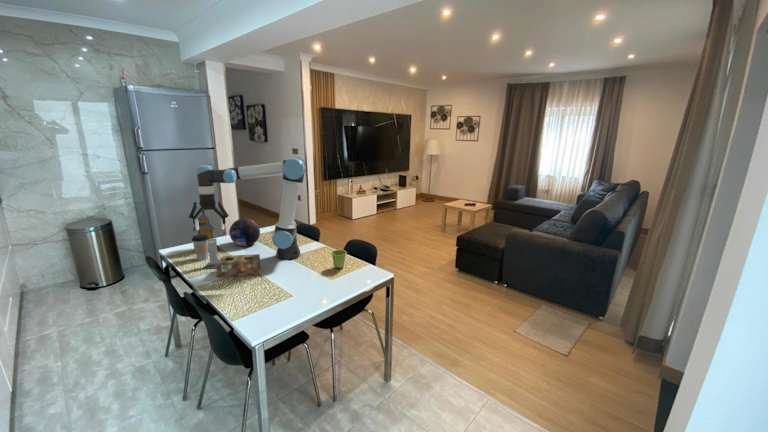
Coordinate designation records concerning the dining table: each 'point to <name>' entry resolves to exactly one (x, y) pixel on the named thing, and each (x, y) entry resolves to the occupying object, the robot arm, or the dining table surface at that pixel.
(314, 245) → the dining table surface
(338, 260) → the plant pot
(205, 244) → the coffee cup
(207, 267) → the mat
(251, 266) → the socket block
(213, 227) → the lantern
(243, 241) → the decorative sphere
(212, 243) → the plug
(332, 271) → the dining table surface
